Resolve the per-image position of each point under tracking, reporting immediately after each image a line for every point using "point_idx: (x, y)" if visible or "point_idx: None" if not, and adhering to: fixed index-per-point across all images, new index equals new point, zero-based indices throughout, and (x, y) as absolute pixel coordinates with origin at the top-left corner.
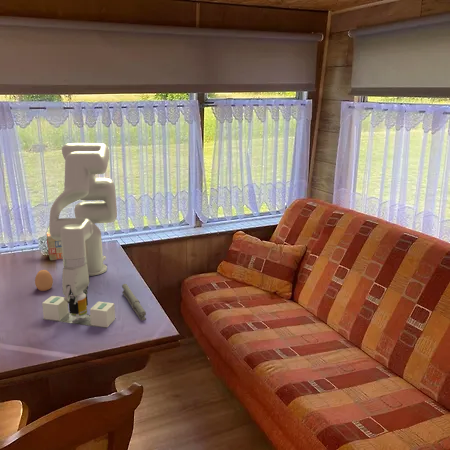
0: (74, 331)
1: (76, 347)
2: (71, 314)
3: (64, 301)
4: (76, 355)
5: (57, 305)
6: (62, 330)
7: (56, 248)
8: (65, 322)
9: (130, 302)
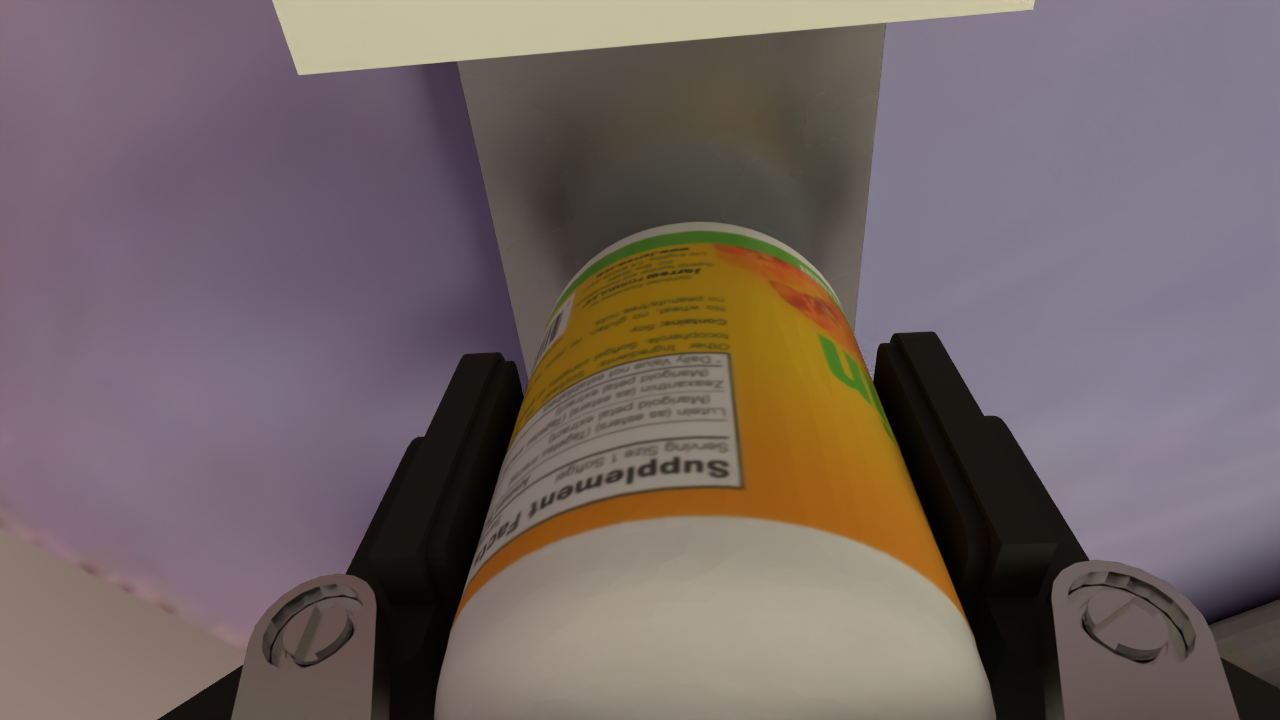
0: (423, 353)
1: (192, 526)
2: (567, 287)
3: (771, 22)
4: (108, 578)
5: (299, 52)
6: (349, 184)
7: None
8: (479, 158)
9: (1250, 664)
